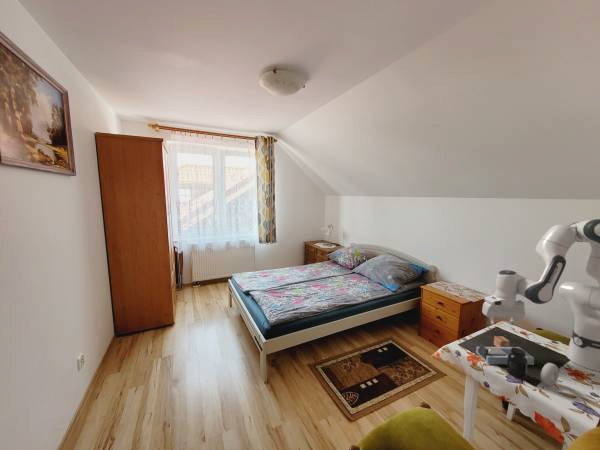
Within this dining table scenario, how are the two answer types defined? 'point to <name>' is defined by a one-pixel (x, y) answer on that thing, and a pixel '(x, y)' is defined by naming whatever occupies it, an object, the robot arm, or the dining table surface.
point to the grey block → (490, 351)
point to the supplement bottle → (517, 363)
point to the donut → (549, 374)
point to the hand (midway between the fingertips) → (502, 324)
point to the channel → (503, 358)
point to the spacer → (501, 341)
